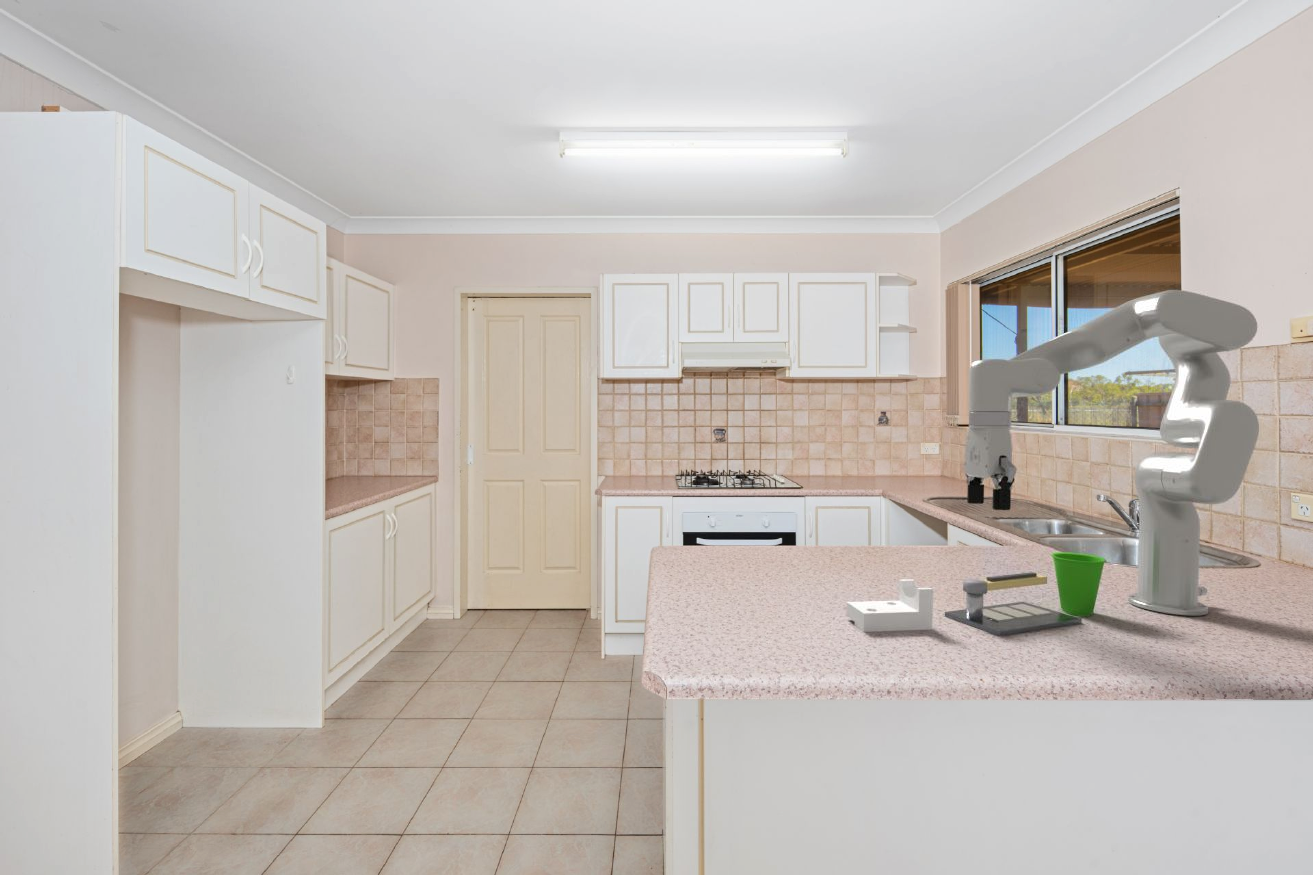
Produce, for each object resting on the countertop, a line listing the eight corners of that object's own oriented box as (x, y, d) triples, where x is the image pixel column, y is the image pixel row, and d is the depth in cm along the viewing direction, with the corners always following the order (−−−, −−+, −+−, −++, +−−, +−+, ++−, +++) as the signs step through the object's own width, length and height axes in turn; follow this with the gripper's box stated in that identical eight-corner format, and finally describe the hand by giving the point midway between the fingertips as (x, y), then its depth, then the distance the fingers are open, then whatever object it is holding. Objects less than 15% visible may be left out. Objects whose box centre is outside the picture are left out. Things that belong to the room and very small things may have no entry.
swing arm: (976, 595, 113) (976, 582, 113) (958, 589, 117) (958, 577, 117) (1051, 585, 120) (1051, 574, 120) (1031, 580, 124) (1032, 569, 124)
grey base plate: (1022, 605, 127) (1023, 578, 127) (1081, 623, 116) (1082, 593, 116) (944, 616, 120) (945, 587, 119) (999, 636, 108) (1000, 604, 108)
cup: (1114, 620, 118) (1116, 563, 117) (1061, 617, 119) (1062, 560, 119) (1091, 607, 126) (1092, 553, 126) (1042, 604, 128) (1043, 551, 128)
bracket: (911, 618, 119) (911, 579, 119) (932, 630, 112) (933, 589, 112) (846, 620, 117) (846, 580, 117) (863, 633, 110) (864, 590, 110)
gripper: (950, 421, 134) (949, 501, 134) (994, 420, 116) (992, 512, 117) (985, 421, 134) (983, 501, 134) (1034, 421, 116) (1032, 512, 117)
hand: (987, 506), depth 125 cm, fingers open, 9 cm apart
